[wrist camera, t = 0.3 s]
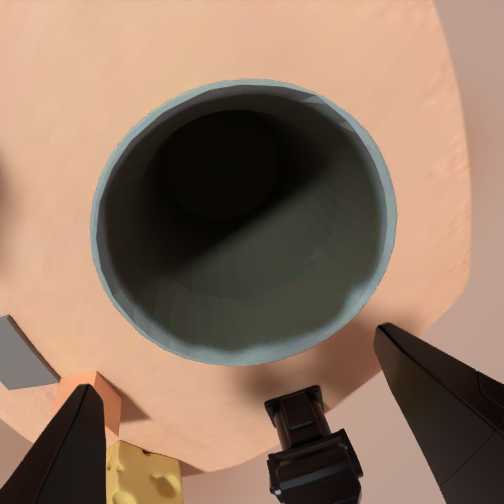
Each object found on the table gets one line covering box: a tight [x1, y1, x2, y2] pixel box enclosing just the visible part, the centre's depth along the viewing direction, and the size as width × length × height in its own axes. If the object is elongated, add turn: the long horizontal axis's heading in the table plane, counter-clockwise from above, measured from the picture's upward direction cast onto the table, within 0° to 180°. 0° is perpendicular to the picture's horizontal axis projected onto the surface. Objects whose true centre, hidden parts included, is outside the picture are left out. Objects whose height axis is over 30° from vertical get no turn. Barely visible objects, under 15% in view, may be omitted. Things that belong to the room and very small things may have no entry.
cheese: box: [106, 440, 183, 504], centre depth 33 cm, size 10×11×10 cm
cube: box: [51, 371, 122, 438], centre depth 26 cm, size 5×5×5 cm
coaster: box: [0, 315, 61, 390], centre depth 24 cm, size 9×9×1 cm
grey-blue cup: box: [90, 79, 397, 366], centre depth 15 cm, size 10×10×12 cm
